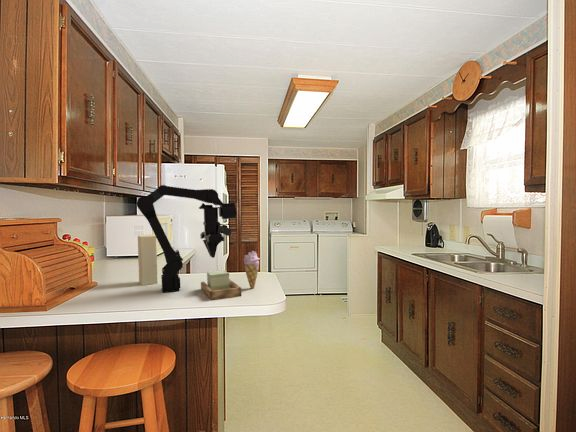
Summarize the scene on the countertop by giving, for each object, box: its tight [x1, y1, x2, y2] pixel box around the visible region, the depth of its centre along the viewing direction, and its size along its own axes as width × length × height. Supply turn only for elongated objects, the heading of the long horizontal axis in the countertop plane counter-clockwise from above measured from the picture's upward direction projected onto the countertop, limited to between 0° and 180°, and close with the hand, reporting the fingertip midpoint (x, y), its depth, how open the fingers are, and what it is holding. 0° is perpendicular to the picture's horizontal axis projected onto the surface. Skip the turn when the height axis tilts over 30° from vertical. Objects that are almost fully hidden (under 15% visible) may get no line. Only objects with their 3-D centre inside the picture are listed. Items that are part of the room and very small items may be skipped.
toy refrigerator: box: [137, 234, 159, 286], centre depth 154 cm, size 8×7×21 cm
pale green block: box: [206, 269, 230, 290], centre depth 138 cm, size 7×7×6 cm
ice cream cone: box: [243, 250, 261, 290], centre depth 139 cm, size 7×6×15 cm
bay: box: [200, 278, 243, 301], centre depth 135 cm, size 11×18×3 cm, turn 24°
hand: (212, 257), depth 146 cm, fingers open, 3 cm apart
